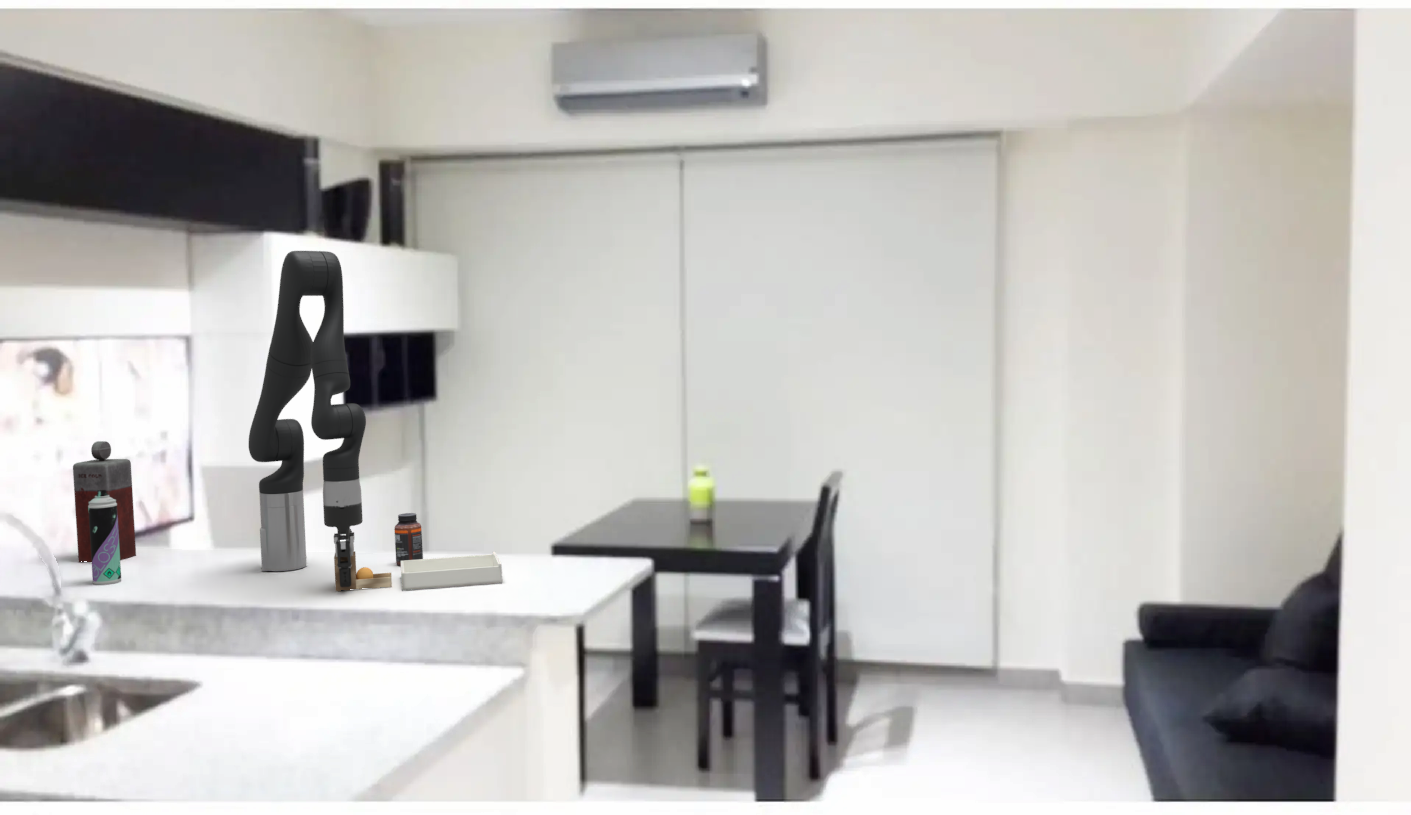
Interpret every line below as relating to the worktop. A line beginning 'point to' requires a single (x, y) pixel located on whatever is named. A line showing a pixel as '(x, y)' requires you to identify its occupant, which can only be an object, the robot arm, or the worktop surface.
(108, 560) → the spray can
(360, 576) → the ball
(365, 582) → the scoop
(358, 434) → the robot arm
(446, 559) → the tray
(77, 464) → the red and grey canister
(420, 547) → the supplement bottle
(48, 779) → the worktop surface
